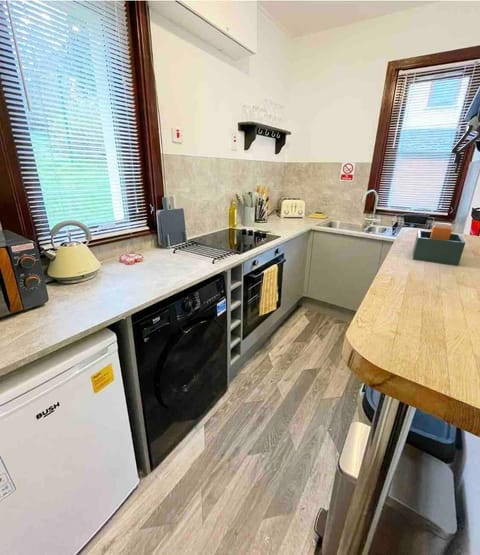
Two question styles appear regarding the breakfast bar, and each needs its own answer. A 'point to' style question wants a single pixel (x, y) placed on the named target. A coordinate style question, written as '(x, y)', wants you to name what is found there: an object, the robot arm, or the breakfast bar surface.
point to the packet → (441, 231)
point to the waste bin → (438, 248)
